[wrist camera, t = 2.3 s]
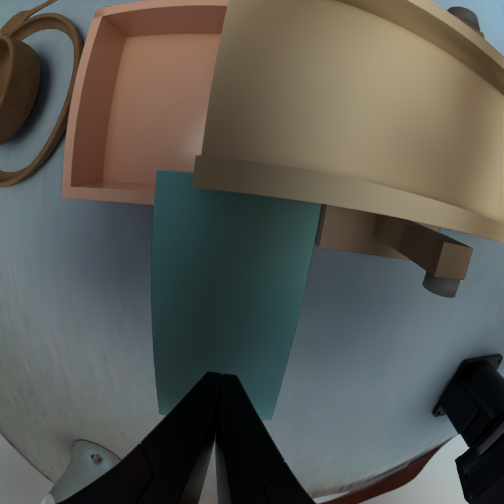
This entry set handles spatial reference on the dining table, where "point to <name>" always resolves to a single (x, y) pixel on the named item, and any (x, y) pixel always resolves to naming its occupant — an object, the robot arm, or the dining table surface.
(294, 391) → the dining table surface
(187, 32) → the dish
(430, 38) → the lever
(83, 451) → the beer glass
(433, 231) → the lever stand
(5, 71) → the place setting
